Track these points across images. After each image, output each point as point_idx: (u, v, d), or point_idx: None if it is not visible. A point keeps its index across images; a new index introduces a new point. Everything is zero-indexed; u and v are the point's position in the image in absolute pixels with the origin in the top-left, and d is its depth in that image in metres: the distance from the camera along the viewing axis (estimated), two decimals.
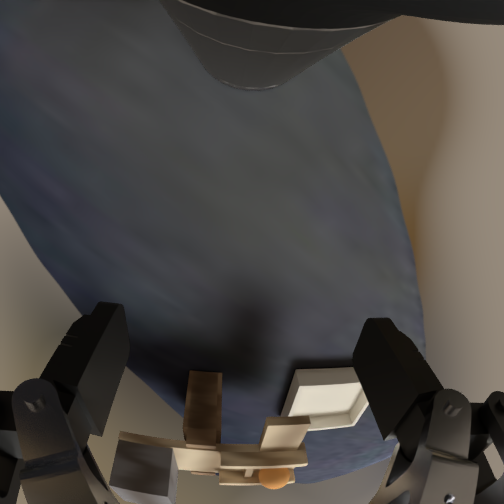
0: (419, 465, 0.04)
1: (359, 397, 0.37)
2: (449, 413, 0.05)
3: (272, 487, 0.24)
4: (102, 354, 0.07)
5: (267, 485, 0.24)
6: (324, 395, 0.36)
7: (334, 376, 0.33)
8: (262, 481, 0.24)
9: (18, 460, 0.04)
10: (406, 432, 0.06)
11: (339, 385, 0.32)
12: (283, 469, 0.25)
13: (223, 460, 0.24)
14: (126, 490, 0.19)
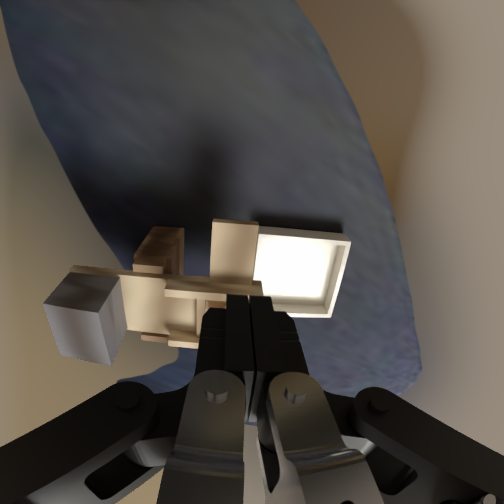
0: (288, 477, 0.04)
1: (331, 277, 0.40)
2: (283, 398, 0.06)
3: None
4: None
5: None
6: (291, 267, 0.39)
7: (296, 233, 0.36)
8: None
9: (146, 473, 0.05)
10: (259, 414, 0.07)
11: (302, 239, 0.35)
12: None
13: (168, 285, 0.26)
14: (59, 310, 0.21)
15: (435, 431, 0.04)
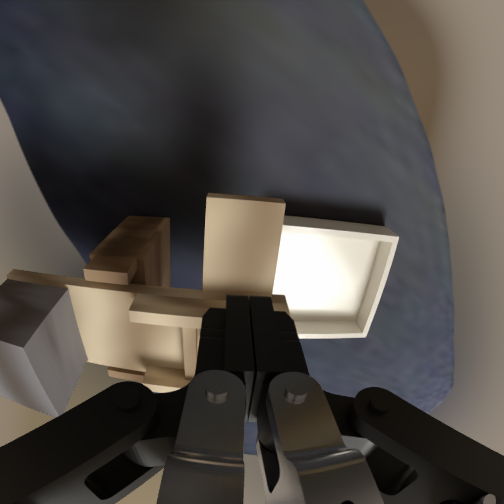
0: (288, 478, 0.04)
1: (368, 285, 0.29)
2: (283, 398, 0.06)
3: None
4: None
5: None
6: (317, 271, 0.28)
7: (327, 224, 0.25)
8: None
9: (146, 473, 0.05)
10: (259, 414, 0.07)
11: (336, 233, 0.24)
12: None
13: (136, 304, 0.16)
14: None
15: (435, 431, 0.04)
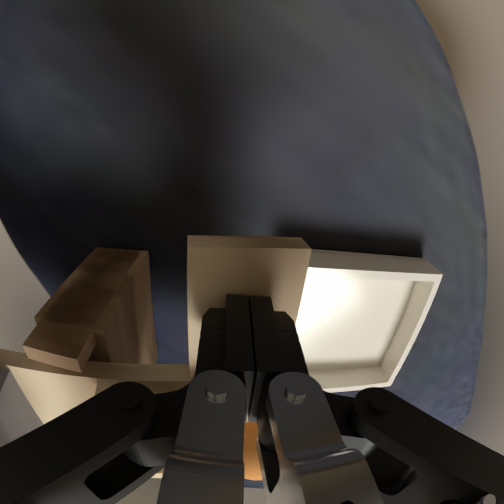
0: (288, 477, 0.04)
1: (398, 328, 0.22)
2: (283, 398, 0.06)
3: None
4: None
5: None
6: (339, 316, 0.21)
7: (358, 261, 0.19)
8: (246, 471, 0.10)
9: (146, 473, 0.05)
10: (259, 414, 0.07)
11: (370, 274, 0.17)
12: None
13: None
14: None
15: (435, 431, 0.04)
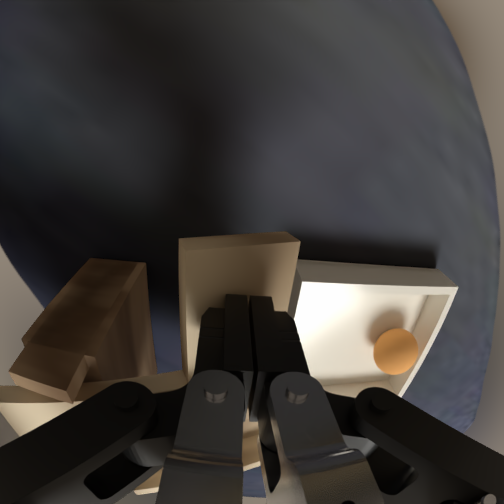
0: (289, 477, 0.04)
1: None
2: (284, 398, 0.06)
3: (416, 358, 0.18)
4: None
5: (413, 360, 0.17)
6: (350, 331, 0.20)
7: (372, 274, 0.17)
8: (406, 362, 0.17)
9: (145, 473, 0.05)
10: (260, 414, 0.07)
11: (385, 289, 0.16)
12: (402, 329, 0.19)
13: None
14: None
15: (435, 431, 0.04)
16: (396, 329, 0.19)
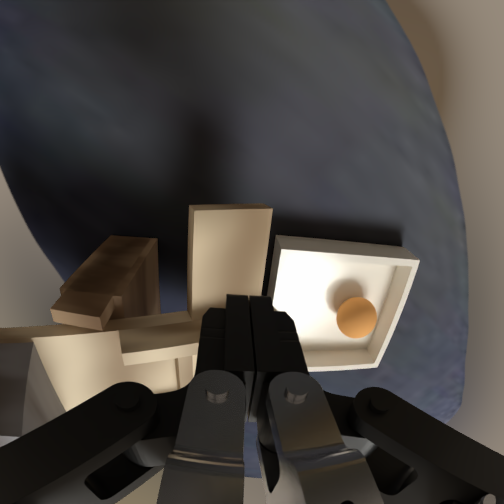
0: (288, 477, 0.04)
1: (382, 312, 0.25)
2: (283, 398, 0.06)
3: (367, 326, 0.22)
4: None
5: (360, 325, 0.21)
6: (327, 299, 0.24)
7: (340, 247, 0.21)
8: (351, 323, 0.22)
9: (146, 473, 0.05)
10: (259, 414, 0.07)
11: (351, 258, 0.20)
12: (366, 299, 0.23)
13: (126, 344, 0.13)
14: None
15: (435, 432, 0.04)
16: (360, 297, 0.23)
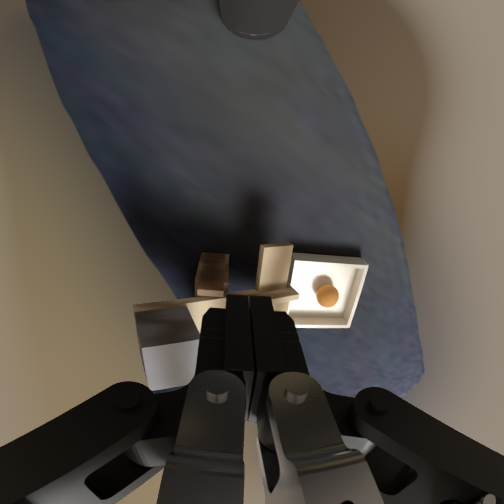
0: (288, 477, 0.04)
1: (350, 294, 0.46)
2: (283, 398, 0.06)
3: (325, 299, 0.42)
4: None
5: (322, 297, 0.43)
6: (318, 286, 0.45)
7: (324, 258, 0.42)
8: (319, 295, 0.43)
9: (146, 473, 0.05)
10: (259, 414, 0.07)
11: (329, 264, 0.41)
12: (334, 287, 0.43)
13: None
14: (160, 349, 0.26)
15: (435, 432, 0.04)
16: (332, 286, 0.44)
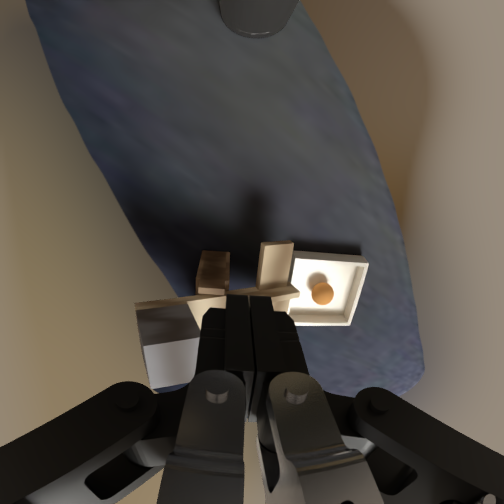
0: (288, 477, 0.04)
1: (351, 292, 0.46)
2: (283, 398, 0.06)
3: (315, 294, 0.43)
4: None
5: (313, 292, 0.43)
6: None
7: (325, 256, 0.42)
8: (312, 289, 0.44)
9: (146, 473, 0.05)
10: (259, 414, 0.07)
11: (330, 262, 0.41)
12: (329, 286, 0.43)
13: None
14: (161, 347, 0.26)
15: (435, 432, 0.04)
16: (329, 285, 0.44)
